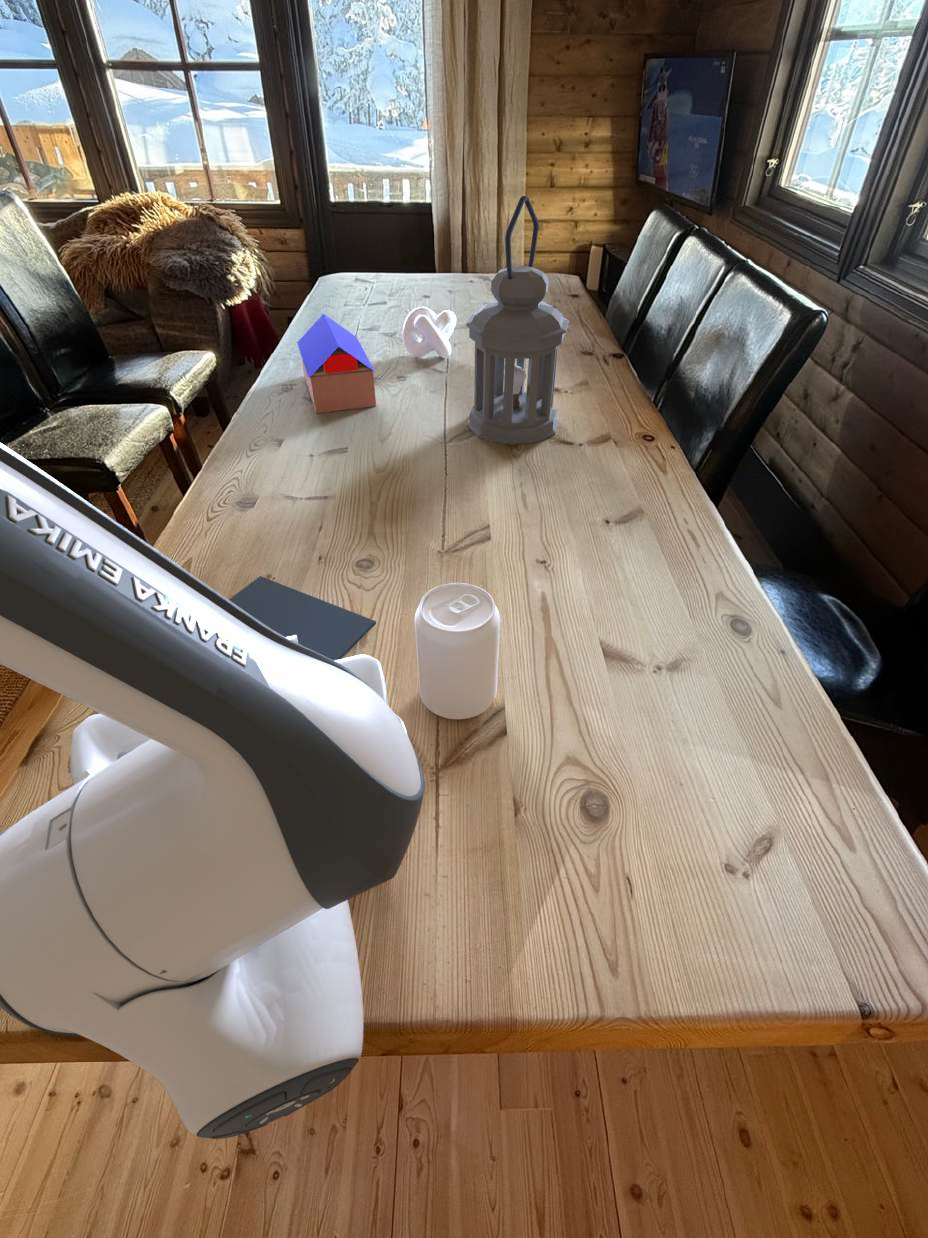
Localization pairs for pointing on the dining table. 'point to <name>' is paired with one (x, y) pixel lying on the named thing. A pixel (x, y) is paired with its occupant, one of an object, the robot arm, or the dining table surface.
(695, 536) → the dining table surface
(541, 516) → the dining table surface
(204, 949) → the robot arm
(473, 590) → the beverage can
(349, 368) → the house
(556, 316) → the lantern
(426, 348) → the white knot sculpture
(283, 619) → the mat
